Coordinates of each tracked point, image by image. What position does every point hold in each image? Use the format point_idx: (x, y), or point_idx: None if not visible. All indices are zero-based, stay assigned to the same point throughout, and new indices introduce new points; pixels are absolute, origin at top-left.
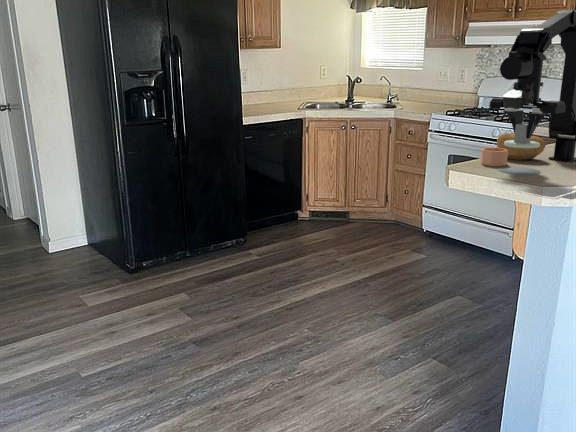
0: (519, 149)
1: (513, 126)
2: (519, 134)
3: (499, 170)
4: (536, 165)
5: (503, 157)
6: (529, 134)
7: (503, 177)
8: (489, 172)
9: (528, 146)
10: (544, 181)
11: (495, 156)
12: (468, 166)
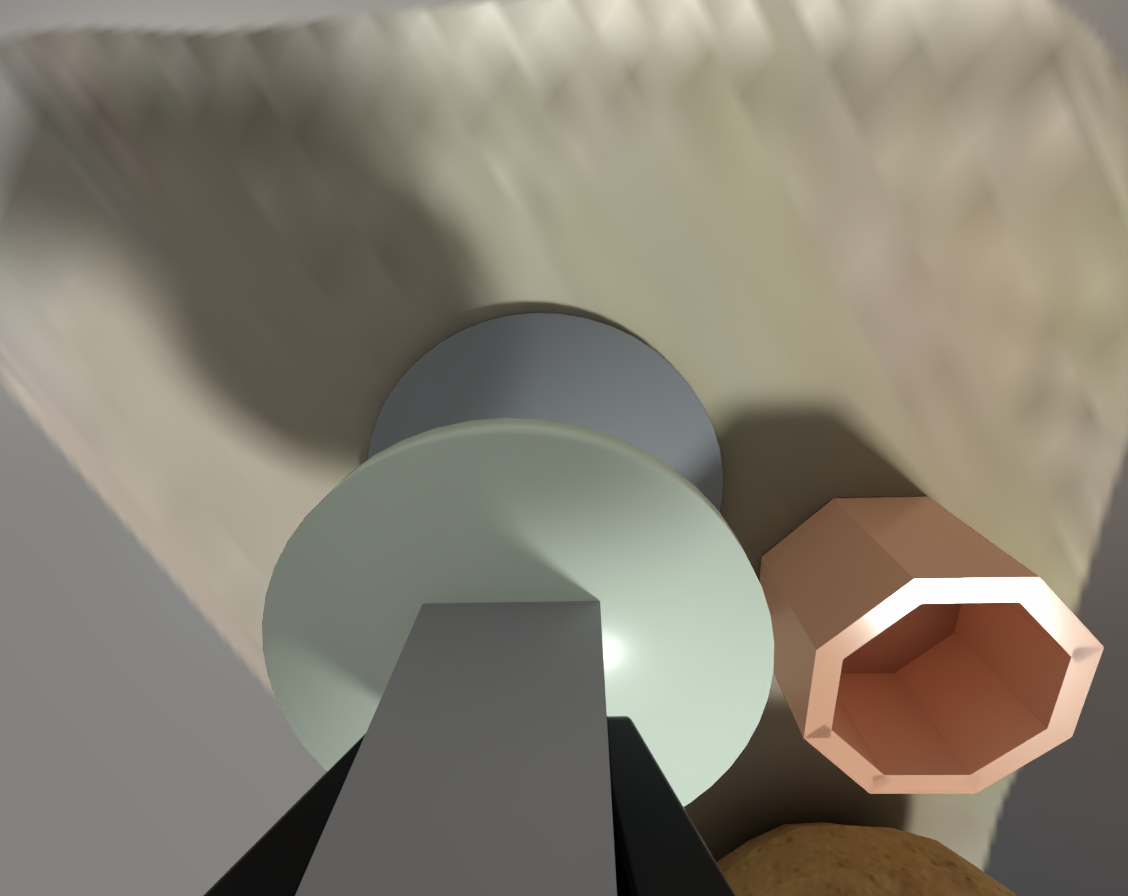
0: (783, 884)
1: (702, 892)
2: (500, 709)
3: (668, 377)
4: None
5: (788, 630)
6: (327, 771)
7: (500, 182)
8: (720, 282)
9: (302, 528)
10: (193, 334)
11: (849, 572)
12: (1015, 369)
